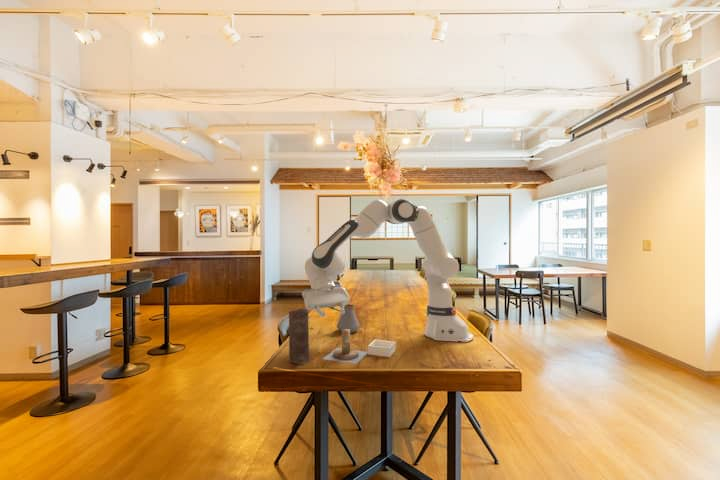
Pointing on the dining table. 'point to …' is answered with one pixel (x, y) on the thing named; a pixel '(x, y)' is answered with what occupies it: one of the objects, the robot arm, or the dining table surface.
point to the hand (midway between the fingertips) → (333, 314)
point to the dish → (381, 348)
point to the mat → (353, 361)
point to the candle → (298, 336)
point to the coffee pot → (347, 319)
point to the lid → (346, 348)
